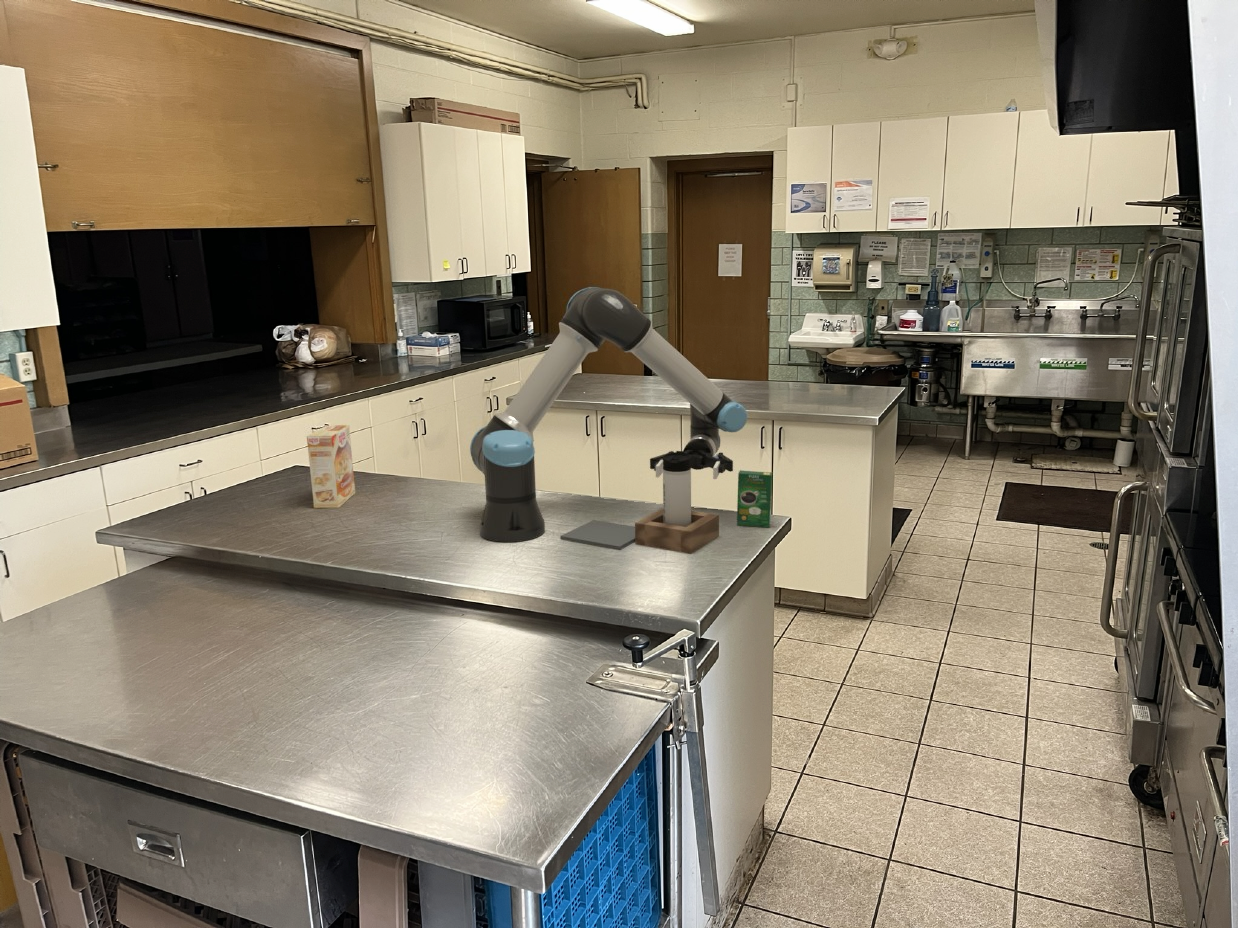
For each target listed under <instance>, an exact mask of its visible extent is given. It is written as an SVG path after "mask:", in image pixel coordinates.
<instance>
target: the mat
mask: <svg viewBox="0 0 1238 928" xmlns="http://www.w3.org/2000/svg"><path fill="white" fill-rule="evenodd" d="M559 538H560V540H561V541H569V542H575V543H579V544H586V545H591V546H597V547H600V548H601V547H602V548H608V549H613V550H619V551H620V550H623V549H625V548H626V547H627V546H629V545H632V544H633V543H635V525H627V524H622V523H617V522H616V523H615V522H609V521H603V520H598V519H597V520H595V519H592V520H590V521H589V522H587V523H584V524H582V525H580V526H578V527H576V528H574V529H572V530H570V531H567V532H566V533H563V534H561V535H560V537H559Z"/></svg>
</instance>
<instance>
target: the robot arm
mask: <svg viewBox="0 0 1238 928" xmlns="http://www.w3.org/2000/svg"><path fill="white" fill-rule="evenodd" d="M566 305H567V306H566V311H565V314H564V316H563V317H562V318H561V319H560V321H559V323H558V326H559V333H558V335H557V336H556V337H555V339H554V340H553V342H552V344H551V345H550V346H549V348H548V349H547V351H546V352H545V353H544V354H543V356H542V358H541V359H540V360H539V362H538V363H537V365H535V367H534V368H533V370H532V372H531V373H530V374H529V376H528V377H527V379H526V380H525V381H524V383H523V385H522V386H521V387H520V388H519V390H518V392H517V393H516V394H515V396H514V397H513V399H512V400H511V401H510V403H509V404H508V405H507V407H506V409H505V410H504V411H501V412H499V413H495V414H494V415H493V416H492V418H491V419H490V420H489V422H488V423H487V424H486V425H485V426H483V427H481V428H480V429H479V430H477V431H476V432H475V434H474V435H473V437H472V439H471V441H470V446H469V453H470V457H471V460H472V462H473V464H474V466H475V467H476V468H477V470H478V471H479V472H481V473H482V474H483V475H484V484H485V485H484V487H485V505H484V510H483V513H482V516H481V521H480V525H479V527H480V528H479V529H480V537H482V538H483V539H485V540H489V541H491V542H492V541H493V542H500V543H501V542H503V543H512V542H523V541H528V540H532V539H535V538H536V539H537V537H540V536H542V535H543V534H544V533H545V531H546V524H545V523H546V522H545V519H544V517H543V515H542V512H541V509H540V506H539V504H538V501H537V491H536V469H535V453H536V450H535V446H534V441H535V439H534V431H535V429H536V428H537V427H538V425H539V424H540V423H541V421H542V420H543V418H544V417H545V416H546V415H547V412H549V411H550V408H551V406H552V405H553V404H554V403H555V401H556V399H557V398H558V397H559V395H560V394H561V393H562V392H563V389H564V388H565V387H566V385H567V384H568V383H569V382H570V380H571V379H572V377H573V375H575V372H576V371H577V369H579V367H580V366H581V364H582V363H583V361H584V360H585V359H586V357H587V356H588V354H590V353H594V352H598V350H600V348H601V346H602V344H604V342H605V341H609V342H610V343H612V344H613V345H615V346H617V347H618V348H619V349H621V350H622V351H623V352H624V353H631V354H633V355H634V356H635V357H636V358H637V359H638V360H640V361H641V362H642V363H643V364H644V365H645V366H646V367H647V368H649V370H651V371H652V372H653V373H655V374H656V375H657V376H658V377H659V378H660V379H661V380H662V381H664V382H665V383H666V384H667V385H668V386H670V387H671V388H672V389H673V390H674V391H675V392H677V394H679V395H680V396H681V397H682V398H683V399H684V400H685V401H687V402H688V403H689V408H690V409H689V413H690V415H689V417H690V419H689V420H690V425H689V426H690V433H689V434H690V440H689V441H688V442H687V444H685V446H684V448H683V450H682V451H684V453H687V454H689V455H690V456H691V470H696V471H697V470H703V469H707V468H710V469H712V470H713V471H712V479H713V480H717V479H718V477H719V475H720V474H724V472H726V471H728V472H733V471H734V460H732V459H730V458H729V457H727V456H726V455H724V452H722V451H721V452H718V451H719V449H720V447H721V435H720V430H721V431H722V432H727V433H737V432H739V431H740V430H742V429H743V428H744V427H745V426H746V424H747V420H748V413H747V410H746V408H745V407H744V406H743V405H742V404H740V403H739V402H737V401H733V400H732V399H731V398H730V397H729V396H728V395H727V394H726V393H724V392H723V390H721V389H720V388H719V387H718V386H717V385H716V384H714V383H713V382H712V381H711V380H710V379H709V378H708V377H707V376H706V375H704V374H703V373H702V371H700V370H699V369H698V368H697V367H696V366H694V364H692V363H691V362H690V361H689V360H688V359H687V358H686V357H685V356H684V355H682V353H681V352H679V351H678V349H676V348H675V346H672V344H671V343H669V342H668V341H667V340H666V339H665V338H664V337H663V336H662V335H661V334H659V333H658V332H657V331H656V330H655V329H654V328H653V322H652V320H651V319H649V318H648V317H647V316H646V315H645V314H644V313H643V312H642V311H641V310H640V309H639V308H638V307H637V306H636V305H635V304H633V302H632V301H631V299H628V297H626V295H624V294H623V293H621V292H619V291H618V290H616V289H611V288H602V287H598V286H597V287H595V286H589V287H586V288H582V289H581V290H578V291H577V292H575V293H574V294H573V295H572V296H571V297H570V298H569V300H568V303H567V304H566ZM669 453H674V451H673V450H670V451H668V452H667V453H664V454H661V455H658V456H654V457H651V458H649V468H650V470H653V471H654V472H655V478H660V477H661V476H662V475H663V456H664V455H666V454H669Z"/></svg>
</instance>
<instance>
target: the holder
mask: <svg viewBox="0 0 1238 928" xmlns="http://www.w3.org/2000/svg"><path fill="white" fill-rule="evenodd" d="M634 527H635V542H634V544H635V545H638V546H645V547H651V548H656V549H663V550H666V551H673V552H678V553H679V552H680V553H684V554H690V555H691V554H693V553H695V552H697V551H698V550H700V549H701V548H702V547H704V546H705V545H707V544H709V543H710V542H712V541H713V540H715V539H716V538H718V537H719V536H720V514H714V513H708V512H703V511H697V510H696V511H695V510H691V524H690V525H689V526H687V527H683V526H677V525H670V524H664V523H663V507H661V508H660V509H659V510H656V511H655V512H653V513H650V514H649V515H647V516H645V517H644V518H642V519H639V520H638V521H636V522H634ZM714 538H715V539H714ZM711 540H712V541H711ZM708 542H709V543H708Z"/></svg>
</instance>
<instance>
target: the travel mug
mask: <svg viewBox="0 0 1238 928" xmlns="http://www.w3.org/2000/svg"><path fill="white" fill-rule="evenodd" d="M673 452H674V451H673ZM665 454H666V453H665ZM662 503H663V504H662V508H663V523H664V524H670V525H677V526H683V527H687V526H689V525H690V524H691V511H692V468H691V456H690V455H689V454H687V453H684V451H683V450H676V451H675V452H674V453H669V454H666V455H664V456H663V473H662Z"/></svg>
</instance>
